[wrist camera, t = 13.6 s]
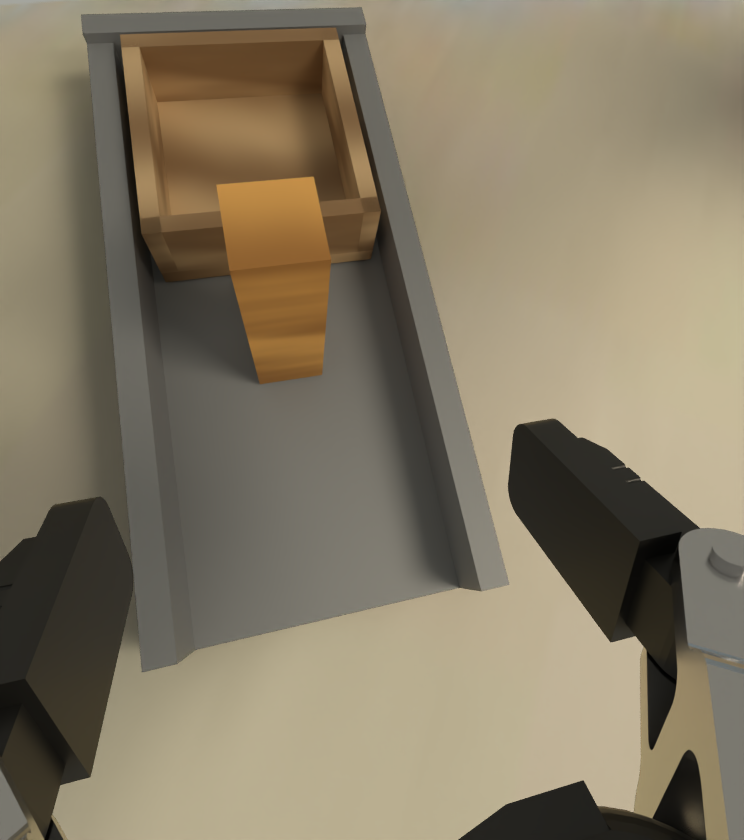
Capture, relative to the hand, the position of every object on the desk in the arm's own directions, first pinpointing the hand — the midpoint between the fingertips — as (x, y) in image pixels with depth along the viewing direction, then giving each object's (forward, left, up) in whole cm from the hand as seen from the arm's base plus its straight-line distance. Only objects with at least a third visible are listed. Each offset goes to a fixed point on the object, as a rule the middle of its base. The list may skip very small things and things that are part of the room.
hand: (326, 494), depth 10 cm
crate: (-8, -14, -13) cm, 21 cm away
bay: (-6, -10, -14) cm, 18 cm away
